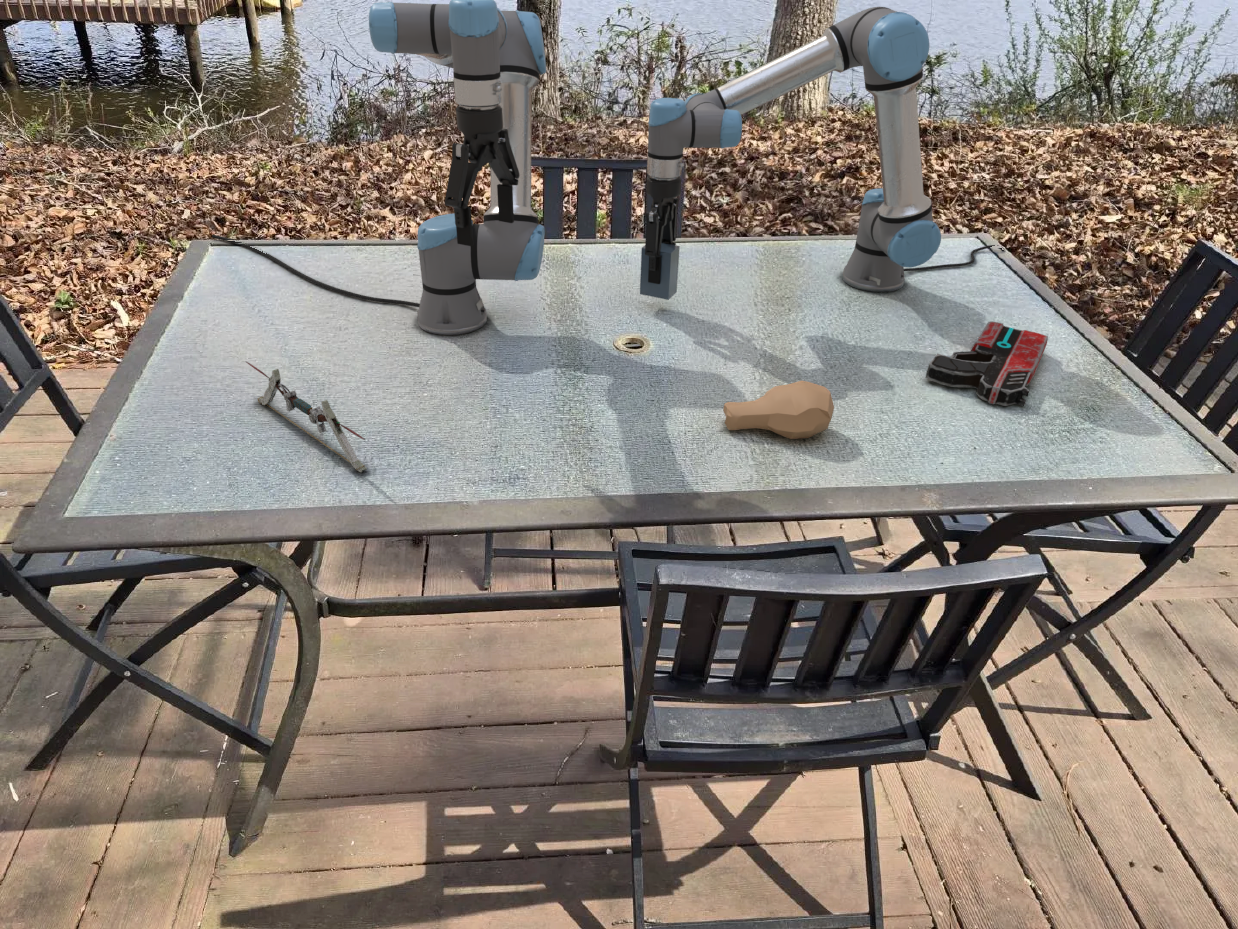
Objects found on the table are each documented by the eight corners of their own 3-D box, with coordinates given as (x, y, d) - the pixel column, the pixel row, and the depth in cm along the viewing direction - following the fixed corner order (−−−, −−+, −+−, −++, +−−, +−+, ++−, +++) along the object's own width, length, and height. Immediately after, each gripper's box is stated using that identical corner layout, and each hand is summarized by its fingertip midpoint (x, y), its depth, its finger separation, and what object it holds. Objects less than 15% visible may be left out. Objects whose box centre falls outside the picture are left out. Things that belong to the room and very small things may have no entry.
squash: (838, 445, 158) (841, 407, 151) (727, 454, 159) (725, 416, 153) (828, 406, 165) (831, 369, 159) (722, 415, 167) (721, 378, 161)
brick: (639, 294, 203) (641, 247, 197) (648, 286, 207) (650, 240, 201) (668, 299, 201) (671, 253, 194) (676, 292, 205) (679, 245, 198)
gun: (926, 366, 174) (1027, 394, 166) (962, 310, 196) (1054, 333, 188) (920, 386, 177) (1020, 414, 169) (957, 329, 199) (1047, 352, 191)
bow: (376, 475, 146) (368, 423, 140) (367, 479, 145) (359, 428, 139) (259, 394, 167) (248, 347, 162) (250, 398, 166) (238, 350, 160)
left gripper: (455, 123, 132) (465, 258, 144) (536, 94, 151) (539, 215, 163) (414, 117, 134) (427, 250, 146) (498, 89, 153) (504, 209, 165)
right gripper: (664, 189, 181) (658, 295, 194) (695, 168, 195) (688, 268, 207) (631, 184, 183) (627, 289, 196) (664, 163, 197) (659, 262, 210)
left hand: (486, 232), depth 154 cm, fingers open, 13 cm apart
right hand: (659, 278), depth 202 cm, fingers closed on brick, 5 cm apart
